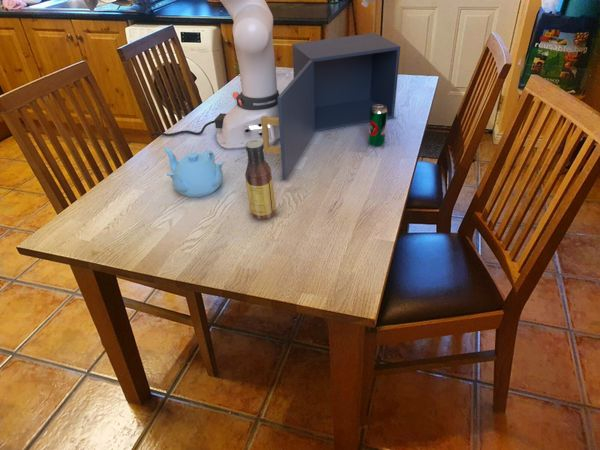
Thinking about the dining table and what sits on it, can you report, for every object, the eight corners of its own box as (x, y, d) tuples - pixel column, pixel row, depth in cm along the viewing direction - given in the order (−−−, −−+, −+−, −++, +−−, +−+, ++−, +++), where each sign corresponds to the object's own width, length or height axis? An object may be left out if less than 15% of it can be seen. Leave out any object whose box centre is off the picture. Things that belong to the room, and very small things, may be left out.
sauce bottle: (262, 204, 118) (255, 133, 106) (281, 212, 115) (275, 140, 103) (244, 215, 114) (235, 143, 102) (263, 224, 111) (255, 151, 99)
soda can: (384, 147, 141) (387, 110, 134) (367, 146, 142) (369, 109, 134) (385, 140, 145) (388, 104, 137) (368, 139, 146) (371, 103, 138)
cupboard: (393, 118, 158) (400, 46, 144) (312, 133, 151) (310, 58, 137) (371, 100, 172) (375, 32, 157) (295, 112, 165) (292, 43, 150)
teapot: (222, 170, 133) (217, 138, 127) (230, 197, 121) (225, 163, 115) (171, 179, 130) (163, 146, 124) (174, 207, 118) (166, 173, 112)
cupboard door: (263, 177, 129) (255, 95, 115) (294, 131, 152) (291, 59, 138) (286, 179, 127) (281, 97, 113) (314, 133, 150) (312, 60, 136)
